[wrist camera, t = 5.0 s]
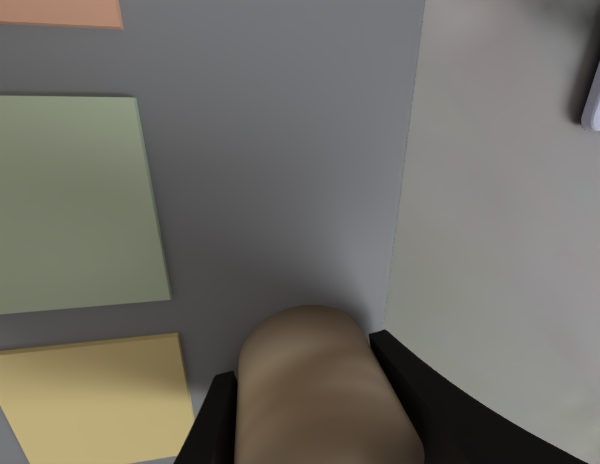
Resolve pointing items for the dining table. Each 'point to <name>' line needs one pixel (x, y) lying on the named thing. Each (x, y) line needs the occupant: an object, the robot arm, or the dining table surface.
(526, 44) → the dining table surface
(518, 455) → the robot arm
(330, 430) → the disc
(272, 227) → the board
